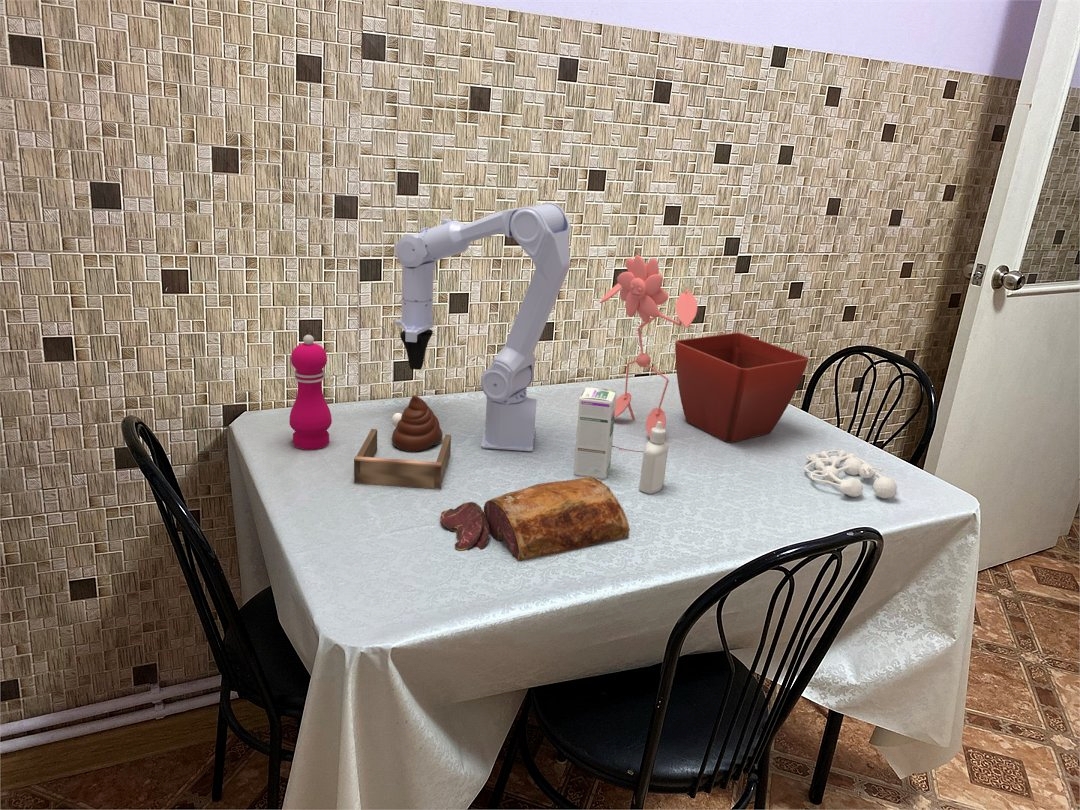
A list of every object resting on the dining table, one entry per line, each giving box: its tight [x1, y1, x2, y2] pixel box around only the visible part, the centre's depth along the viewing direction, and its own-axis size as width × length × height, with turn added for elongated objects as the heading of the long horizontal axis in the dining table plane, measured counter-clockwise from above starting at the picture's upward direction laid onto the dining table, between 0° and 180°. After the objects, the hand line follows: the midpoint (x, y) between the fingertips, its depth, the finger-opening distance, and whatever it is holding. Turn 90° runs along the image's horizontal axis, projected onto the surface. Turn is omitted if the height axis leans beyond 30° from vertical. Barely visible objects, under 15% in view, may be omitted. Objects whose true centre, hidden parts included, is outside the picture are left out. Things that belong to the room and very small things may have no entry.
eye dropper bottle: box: [638, 421, 669, 495], centre depth 141 cm, size 4×6×12 cm
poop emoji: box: [391, 395, 443, 452], centre depth 153 cm, size 10×8×9 cm
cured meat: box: [439, 477, 630, 562], centre depth 126 cm, size 18×25×7 cm
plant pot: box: [674, 332, 809, 443], centre depth 169 cm, size 19×19×17 cm
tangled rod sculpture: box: [803, 449, 898, 499], centre depth 152 cm, size 19×14×4 cm
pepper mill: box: [289, 334, 333, 451], centre depth 147 cm, size 7×7×20 cm
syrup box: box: [573, 387, 617, 480], centre depth 145 cm, size 6×6×14 cm
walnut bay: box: [353, 428, 452, 490], centre depth 143 cm, size 14×14×4 cm
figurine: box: [599, 254, 699, 453], centre depth 159 cm, size 15×26×35 cm, turn 36°
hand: (416, 368), depth 161 cm, fingers closed
